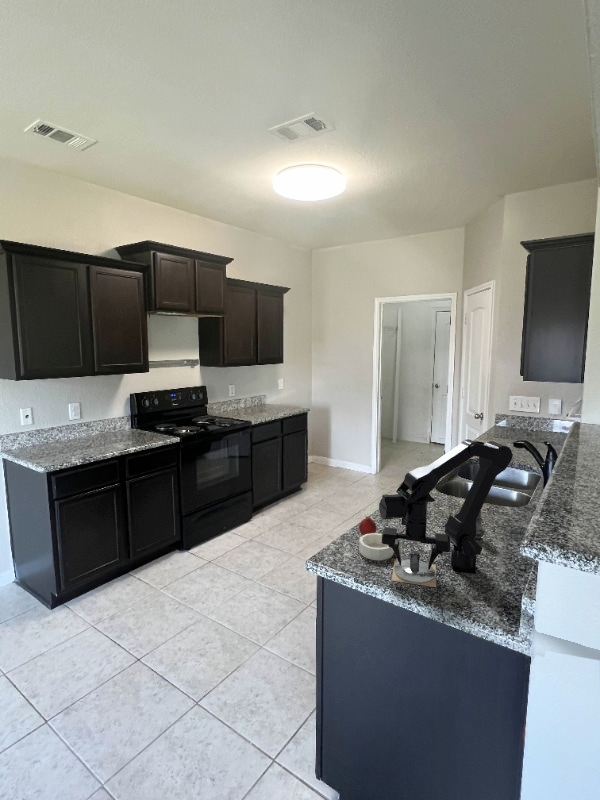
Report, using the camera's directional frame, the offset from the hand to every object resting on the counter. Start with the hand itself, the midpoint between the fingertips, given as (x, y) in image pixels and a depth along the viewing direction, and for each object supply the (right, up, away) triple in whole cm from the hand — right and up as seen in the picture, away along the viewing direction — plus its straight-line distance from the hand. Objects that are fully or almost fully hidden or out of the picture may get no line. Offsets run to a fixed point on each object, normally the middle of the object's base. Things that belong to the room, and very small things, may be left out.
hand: (414, 566), depth 124 cm
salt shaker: (+26, +1, +20) cm, 33 cm away
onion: (-10, +1, +22) cm, 24 cm away
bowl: (-9, 0, +12) cm, 15 cm away
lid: (0, -2, 0) cm, 2 cm away
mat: (0, -2, 0) cm, 2 cm away
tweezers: (+3, +1, +26) cm, 26 cm away
